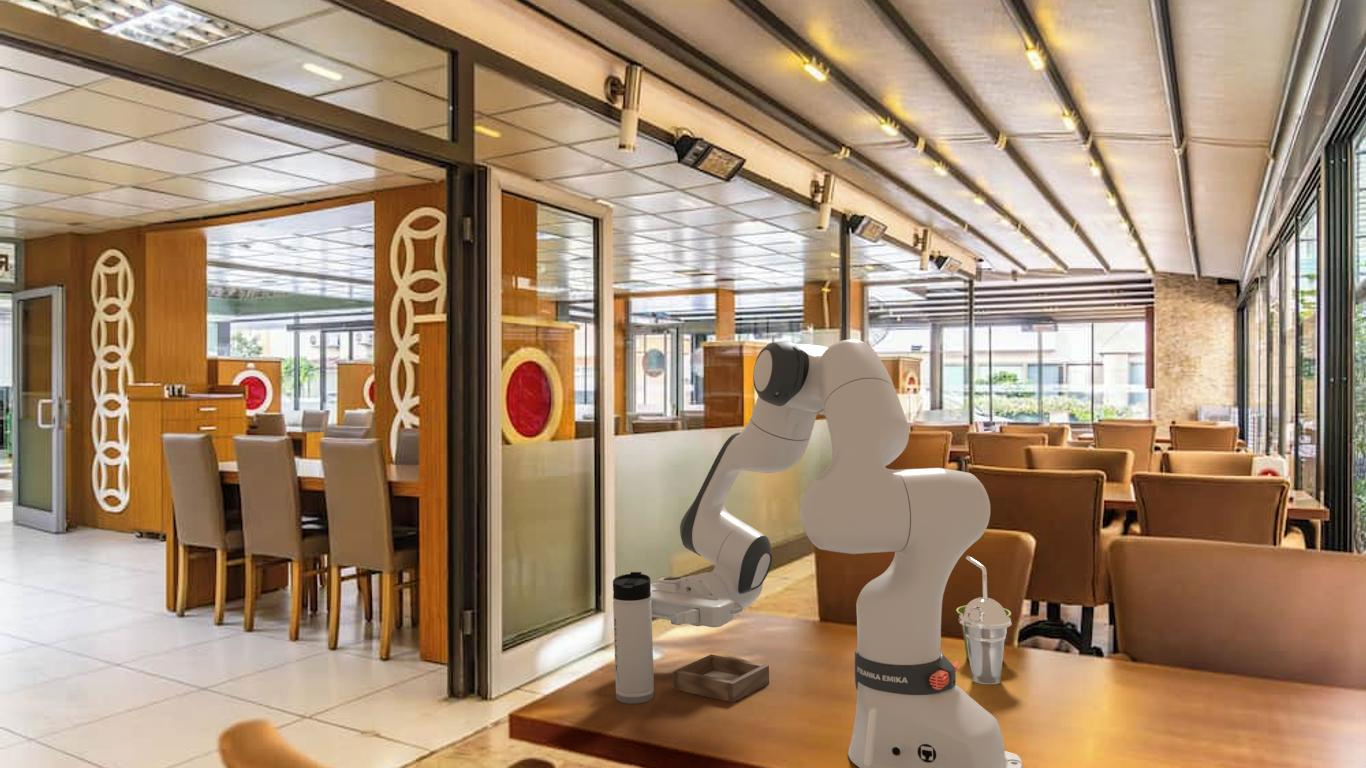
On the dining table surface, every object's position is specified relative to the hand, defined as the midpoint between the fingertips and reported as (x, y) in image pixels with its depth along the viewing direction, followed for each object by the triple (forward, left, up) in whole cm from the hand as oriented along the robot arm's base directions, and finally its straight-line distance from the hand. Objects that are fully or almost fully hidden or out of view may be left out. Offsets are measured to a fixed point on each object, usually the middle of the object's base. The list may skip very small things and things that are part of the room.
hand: (651, 616), depth 158 cm
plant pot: (-42, -43, -12) cm, 61 cm away
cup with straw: (-46, -32, -12) cm, 57 cm away
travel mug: (-1, +6, -12) cm, 13 cm away
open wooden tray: (-10, -6, -12) cm, 17 cm away
